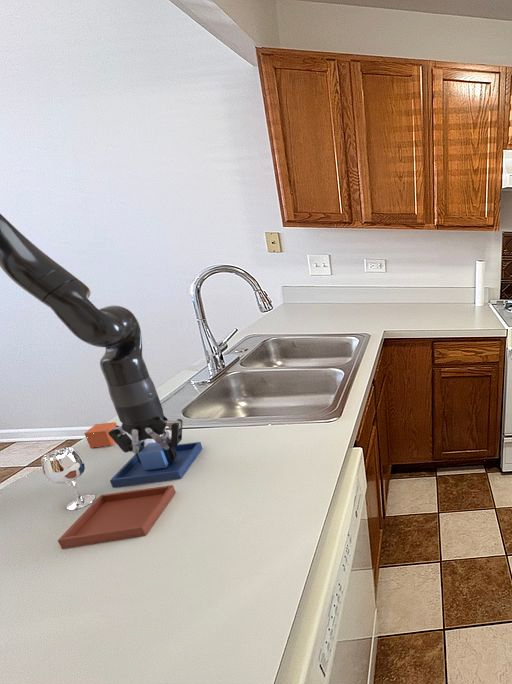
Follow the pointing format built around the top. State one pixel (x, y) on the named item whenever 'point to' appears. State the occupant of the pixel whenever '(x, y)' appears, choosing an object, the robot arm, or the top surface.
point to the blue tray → (137, 475)
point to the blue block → (153, 457)
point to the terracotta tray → (118, 516)
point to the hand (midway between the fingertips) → (159, 462)
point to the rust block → (100, 435)
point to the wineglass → (66, 473)
